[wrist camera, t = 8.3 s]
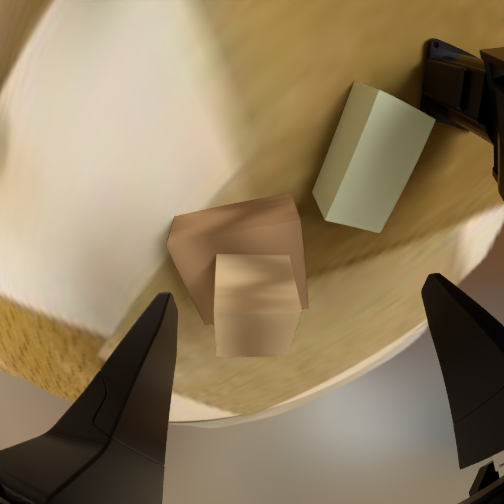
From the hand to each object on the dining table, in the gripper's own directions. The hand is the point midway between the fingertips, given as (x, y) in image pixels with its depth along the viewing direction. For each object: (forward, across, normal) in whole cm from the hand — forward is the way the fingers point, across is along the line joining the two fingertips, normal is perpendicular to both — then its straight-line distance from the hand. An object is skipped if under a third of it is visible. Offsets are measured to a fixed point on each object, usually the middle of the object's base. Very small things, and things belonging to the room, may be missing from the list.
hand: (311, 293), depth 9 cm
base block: (+13, +2, +8) cm, 16 cm away
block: (+13, -6, 0) cm, 15 cm away
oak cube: (+9, +2, +8) cm, 13 cm away
